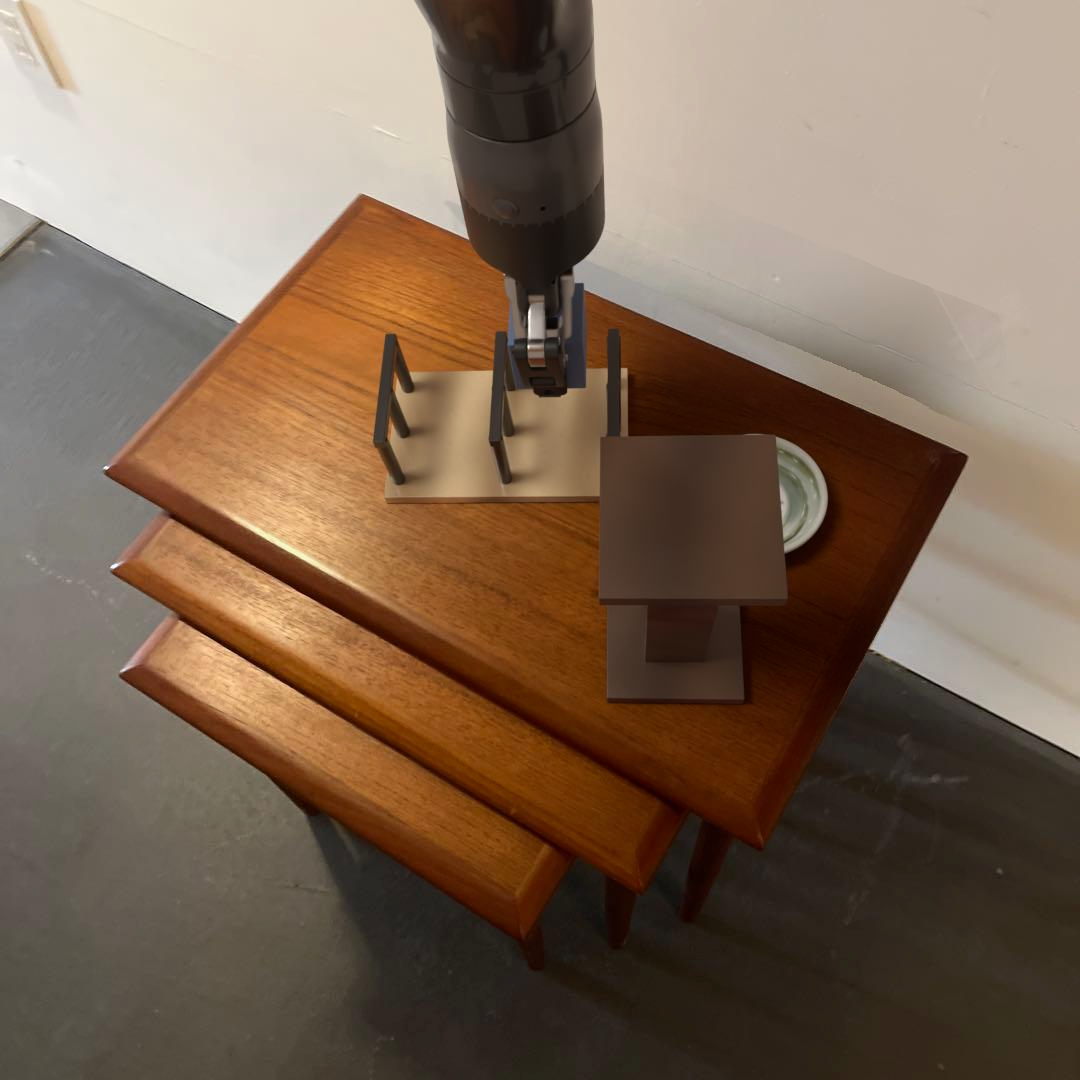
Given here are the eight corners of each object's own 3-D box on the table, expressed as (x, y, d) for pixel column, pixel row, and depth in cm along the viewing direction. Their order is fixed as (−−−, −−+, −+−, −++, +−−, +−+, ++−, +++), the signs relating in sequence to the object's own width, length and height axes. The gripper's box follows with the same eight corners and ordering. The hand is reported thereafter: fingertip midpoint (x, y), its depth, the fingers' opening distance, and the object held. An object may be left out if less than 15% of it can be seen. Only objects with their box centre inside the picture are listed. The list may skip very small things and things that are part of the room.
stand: (736, 578, 68) (775, 434, 50) (742, 704, 64) (788, 598, 46) (607, 578, 69) (600, 436, 51) (606, 702, 65) (598, 598, 47)
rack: (627, 374, 76) (627, 316, 69) (628, 501, 71) (628, 452, 64) (400, 378, 77) (378, 322, 70) (386, 503, 73) (362, 455, 66)
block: (586, 330, 65) (583, 282, 61) (586, 388, 63) (583, 343, 59) (518, 331, 66) (510, 284, 61) (515, 390, 64) (507, 345, 59)
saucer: (793, 434, 72) (798, 416, 70) (843, 548, 68) (850, 533, 66) (668, 468, 72) (669, 452, 70) (711, 585, 68) (714, 572, 66)
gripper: (602, 273, 45) (608, 451, 61) (604, 55, 51) (609, 269, 67) (444, 278, 46) (490, 453, 62) (463, 62, 52) (501, 272, 67)
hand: (552, 356), depth 64 cm, fingers closed on block, 4 cm apart
